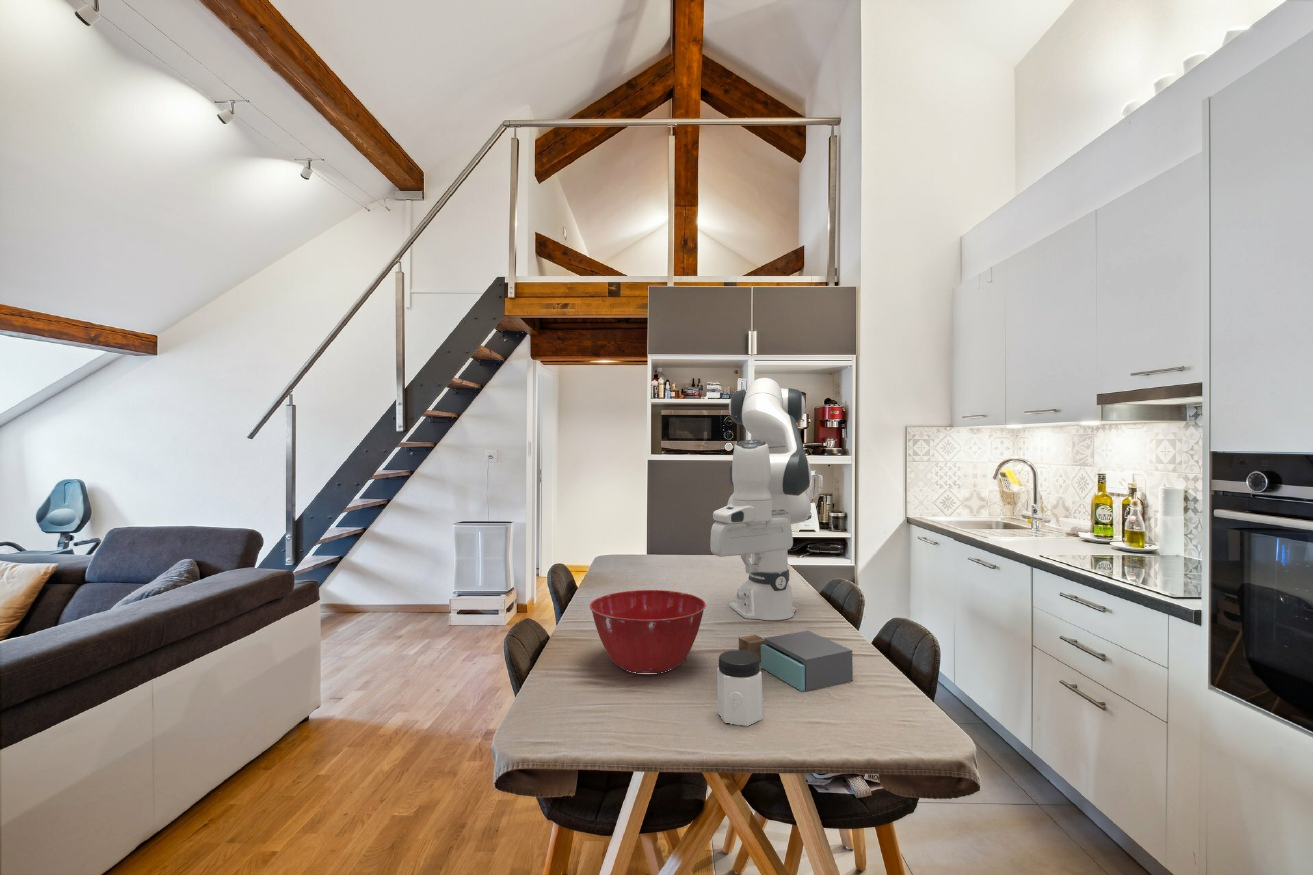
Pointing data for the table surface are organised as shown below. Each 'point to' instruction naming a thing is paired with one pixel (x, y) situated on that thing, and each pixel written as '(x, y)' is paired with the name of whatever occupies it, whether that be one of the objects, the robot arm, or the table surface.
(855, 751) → the table surface
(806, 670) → the grey drawer box
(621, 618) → the mixing bowl
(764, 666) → the tray
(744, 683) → the jar
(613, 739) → the table surface
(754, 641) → the walnut block
